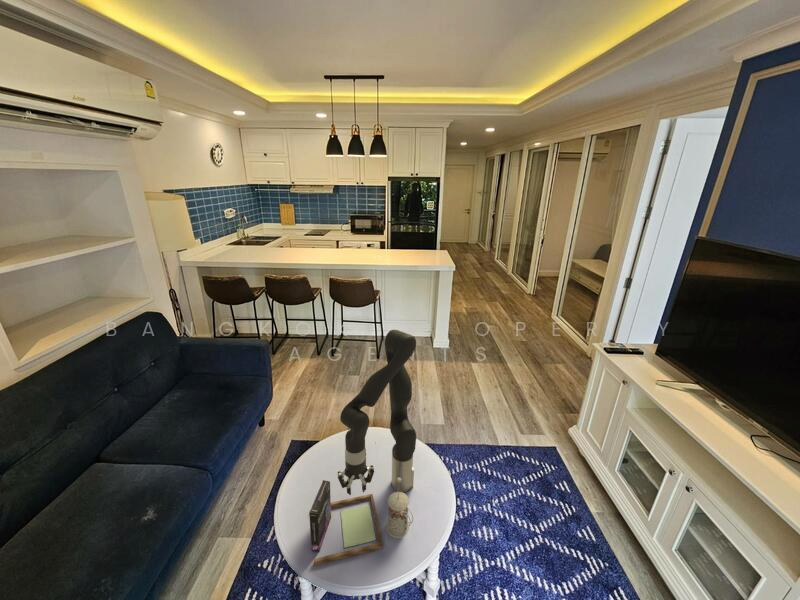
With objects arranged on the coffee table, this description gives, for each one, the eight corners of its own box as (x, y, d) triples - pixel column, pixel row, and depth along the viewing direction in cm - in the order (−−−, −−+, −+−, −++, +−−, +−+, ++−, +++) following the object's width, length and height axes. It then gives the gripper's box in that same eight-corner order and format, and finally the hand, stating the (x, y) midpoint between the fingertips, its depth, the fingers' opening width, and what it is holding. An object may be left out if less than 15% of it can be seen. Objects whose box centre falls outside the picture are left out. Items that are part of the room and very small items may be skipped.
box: (320, 552, 120) (317, 513, 114) (311, 551, 120) (307, 512, 114) (332, 517, 133) (330, 480, 127) (324, 515, 134) (321, 479, 127)
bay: (372, 497, 142) (372, 493, 141) (382, 548, 122) (382, 544, 121) (313, 509, 136) (313, 506, 135) (314, 565, 116) (313, 562, 115)
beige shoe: (396, 510, 137) (397, 463, 128) (418, 528, 130) (421, 479, 122) (380, 528, 129) (380, 479, 121) (403, 547, 122) (404, 497, 114)
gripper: (373, 445, 124) (373, 479, 130) (335, 451, 121) (336, 487, 126) (376, 460, 117) (376, 496, 123) (336, 467, 114) (338, 504, 119)
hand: (356, 491), depth 124 cm, fingers open, 4 cm apart
